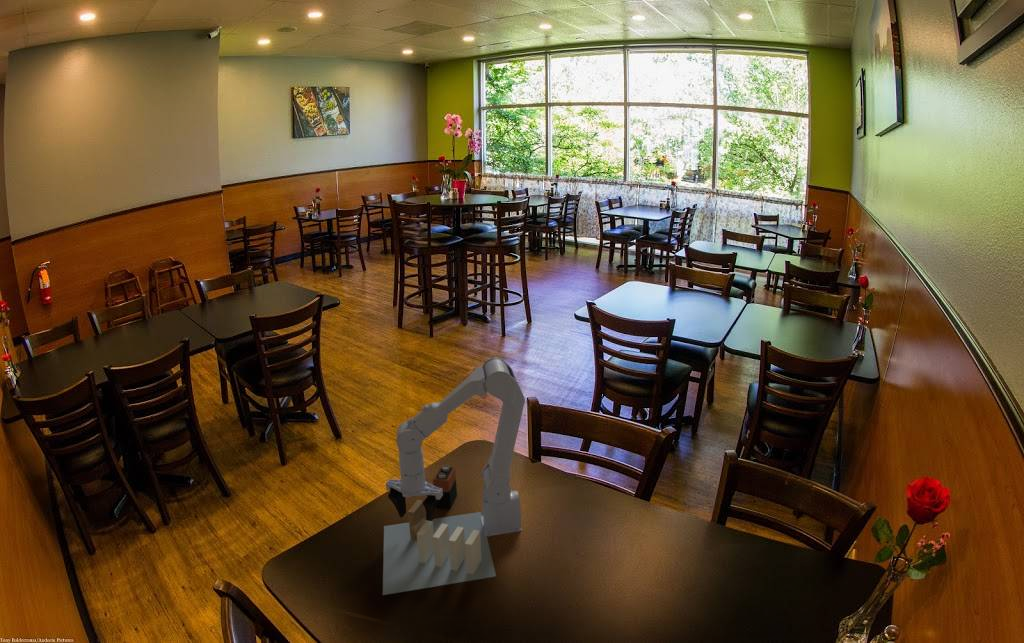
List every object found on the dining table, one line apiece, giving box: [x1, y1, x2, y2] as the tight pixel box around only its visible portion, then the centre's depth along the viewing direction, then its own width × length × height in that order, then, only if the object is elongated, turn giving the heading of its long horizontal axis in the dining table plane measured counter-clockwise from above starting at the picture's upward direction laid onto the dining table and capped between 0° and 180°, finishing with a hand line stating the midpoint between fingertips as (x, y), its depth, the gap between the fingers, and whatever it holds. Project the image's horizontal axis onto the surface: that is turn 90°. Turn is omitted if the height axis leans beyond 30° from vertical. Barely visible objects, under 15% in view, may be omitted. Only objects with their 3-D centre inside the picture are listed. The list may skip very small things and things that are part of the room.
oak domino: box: [407, 499, 426, 540], centre depth 145 cm, size 2×5×8 cm, turn 161°
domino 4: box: [465, 530, 482, 574], centre depth 134 cm, size 2×5×8 cm, turn 161°
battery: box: [432, 464, 458, 510], centre depth 158 cm, size 4×7×10 cm, turn 168°
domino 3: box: [449, 527, 466, 571], centre depth 135 cm, size 2×5×8 cm, turn 161°
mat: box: [382, 511, 497, 596], centre depth 141 cm, size 25×24×1 cm
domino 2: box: [433, 523, 450, 567], centre depth 136 cm, size 2×5×8 cm, turn 161°
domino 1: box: [417, 519, 434, 564], centre depth 137 cm, size 2×5×8 cm, turn 161°
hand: (416, 517), depth 145 cm, fingers open, 7 cm apart
